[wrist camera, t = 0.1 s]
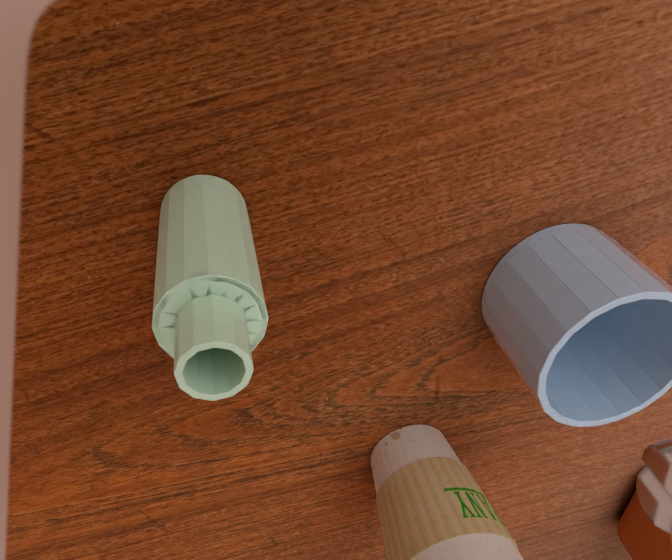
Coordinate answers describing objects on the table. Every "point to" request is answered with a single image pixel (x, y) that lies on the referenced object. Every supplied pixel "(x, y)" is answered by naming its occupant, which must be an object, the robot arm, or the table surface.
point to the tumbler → (582, 324)
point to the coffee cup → (433, 502)
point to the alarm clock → (643, 534)
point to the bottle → (207, 287)
